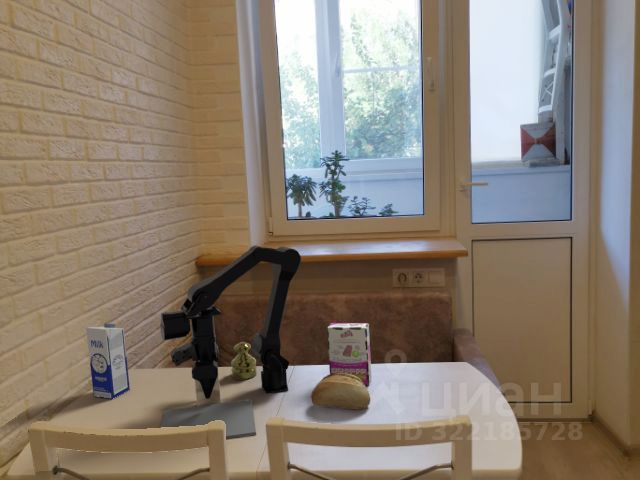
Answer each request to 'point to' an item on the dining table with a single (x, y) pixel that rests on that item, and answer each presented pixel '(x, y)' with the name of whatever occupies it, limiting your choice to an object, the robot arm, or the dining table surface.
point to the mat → (215, 417)
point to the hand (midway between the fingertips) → (208, 391)
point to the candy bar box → (350, 349)
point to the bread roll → (341, 392)
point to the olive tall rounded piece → (243, 362)
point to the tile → (214, 396)
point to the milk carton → (108, 360)
